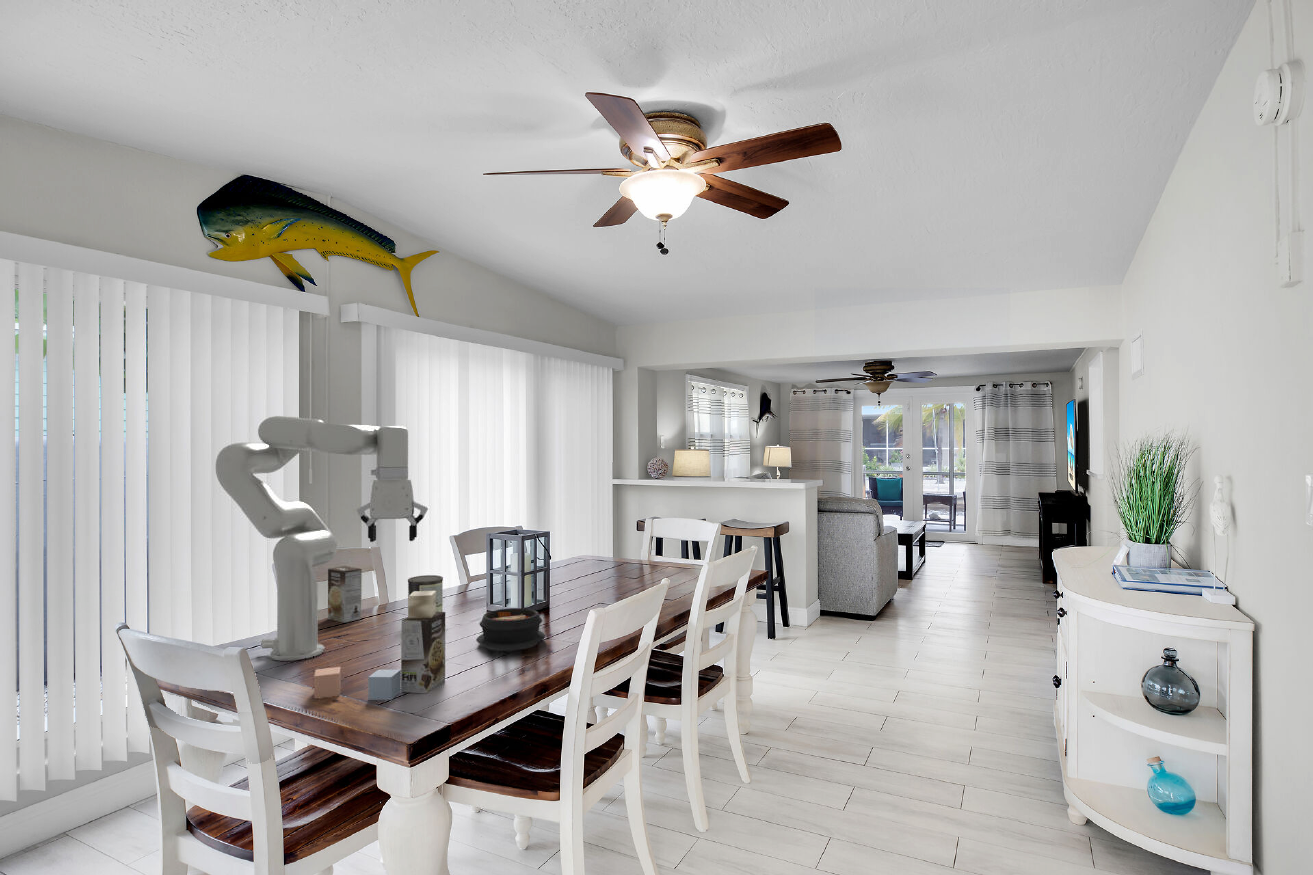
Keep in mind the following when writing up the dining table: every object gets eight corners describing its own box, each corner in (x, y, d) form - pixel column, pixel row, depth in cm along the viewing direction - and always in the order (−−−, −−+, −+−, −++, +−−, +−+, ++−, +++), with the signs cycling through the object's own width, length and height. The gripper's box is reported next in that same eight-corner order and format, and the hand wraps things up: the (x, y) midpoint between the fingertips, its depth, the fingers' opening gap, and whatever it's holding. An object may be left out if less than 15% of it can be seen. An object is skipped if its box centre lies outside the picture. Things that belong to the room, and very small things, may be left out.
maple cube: (408, 618, 157) (408, 595, 157) (413, 613, 162) (413, 591, 162) (431, 617, 157) (431, 595, 158) (436, 612, 162) (436, 590, 163)
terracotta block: (314, 699, 152) (314, 676, 152) (315, 691, 156) (315, 669, 157) (339, 696, 154) (339, 673, 154) (340, 688, 158) (340, 666, 158)
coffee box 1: (326, 619, 222) (326, 568, 223) (344, 615, 228) (344, 565, 228) (344, 622, 218) (344, 571, 218) (362, 618, 223) (362, 567, 223)
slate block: (368, 700, 151) (368, 676, 151) (378, 691, 156) (378, 669, 156) (391, 700, 151) (391, 677, 151) (400, 692, 156) (400, 669, 156)
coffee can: (402, 628, 211) (402, 581, 211) (415, 619, 221) (415, 574, 221) (436, 628, 210) (436, 581, 211) (447, 620, 221) (447, 575, 221)
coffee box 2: (426, 694, 154) (426, 620, 155) (399, 692, 156) (399, 619, 156) (446, 680, 163) (446, 611, 164) (421, 678, 165) (421, 609, 165)
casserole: (477, 634, 204) (477, 605, 204) (542, 630, 208) (542, 602, 208) (474, 660, 179) (474, 627, 179) (548, 655, 183) (548, 622, 183)
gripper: (352, 475, 176) (352, 543, 176) (424, 474, 178) (424, 542, 178) (361, 473, 183) (361, 539, 183) (430, 473, 185) (430, 538, 185)
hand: (392, 540), depth 180 cm, fingers open, 9 cm apart
